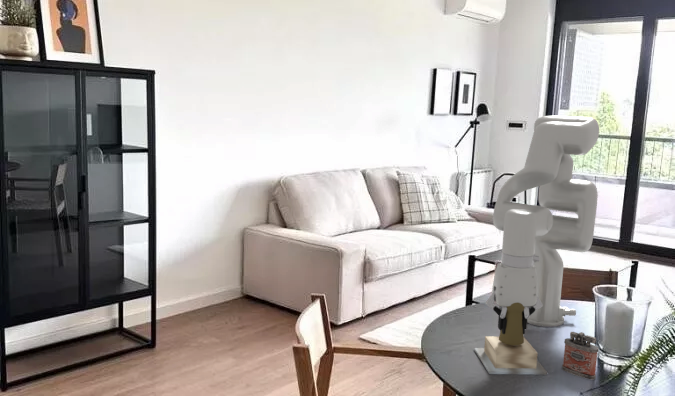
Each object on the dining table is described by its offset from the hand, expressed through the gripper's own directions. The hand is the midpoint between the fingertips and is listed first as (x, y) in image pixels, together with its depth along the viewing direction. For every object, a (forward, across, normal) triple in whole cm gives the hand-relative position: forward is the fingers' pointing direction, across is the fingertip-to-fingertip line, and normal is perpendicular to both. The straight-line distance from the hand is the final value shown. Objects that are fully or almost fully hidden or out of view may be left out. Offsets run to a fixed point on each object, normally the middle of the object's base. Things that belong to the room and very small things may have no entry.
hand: (511, 331), depth 156 cm
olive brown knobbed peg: (+2, 0, 0) cm, 2 cm away
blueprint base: (+8, 0, 0) cm, 8 cm away
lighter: (+8, -15, +6) cm, 18 cm away
